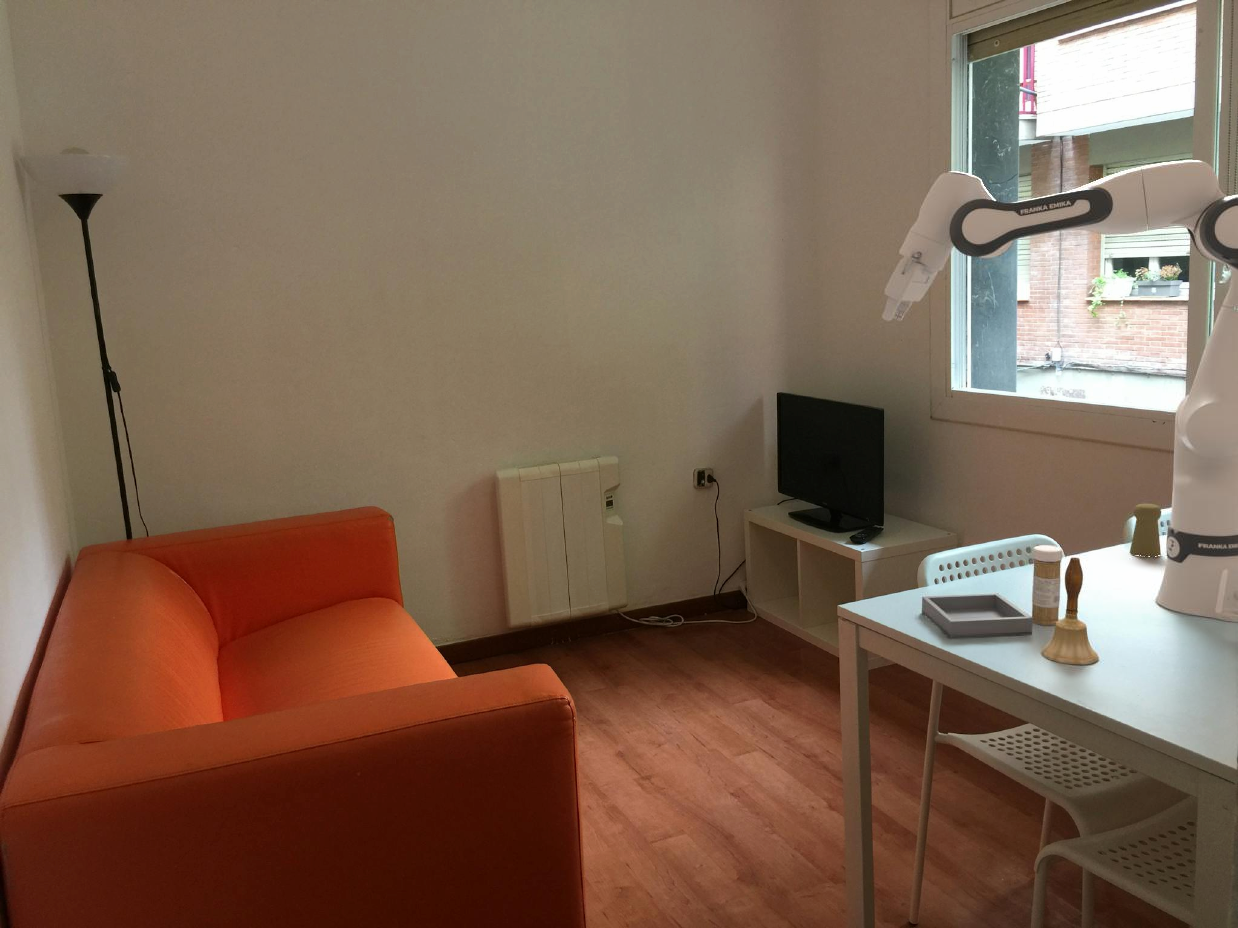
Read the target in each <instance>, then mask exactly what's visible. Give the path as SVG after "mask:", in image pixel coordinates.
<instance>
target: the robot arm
mask: <svg viewBox="0 0 1238 928" xmlns="http://www.w3.org/2000/svg"><path fill="white" fill-rule="evenodd" d="M918 213H919V214H918V217H917V220H916V221H915V222H914V223H913V225H912V226H911V227H910V229H909V231H908V233H907V235H906V237H905V240H904V241H903V242H902V243H903V244H902V246H901V247H900V249H899V251H898V253H899V254H900V255H902V256H903V258H901V259H900V260H899V262H898V264H897V265H896V267H895V269H894V271H893V273H892V275H891V276H890V278H889V281H888V282H887V284H886V287H885V289H884V292H883V293H884V295H885V296H887V297H888V298H887V301H886V303H885V308H884V311H883V312H882V315H881V318H882V319H883V320H885V321H886V322H890V321H892V320H893V319H894V320H896V321H899V322H900V321H902V320H903V318H904V317H905V314H906V313H907V312H908V311H909V309H910V307H912V304H913V302H920V301H921V300H922V299H923V298H924V296H925V295H926V293H927V292H928V290H929V288H930V286H931V285H932V283H933V281H934V280H935V278H936V276H937V275H938V272H939V271H940V272H942V270H943V269H944V268H945V265H946V263H947V260H948V258H949V257H950V255H951V253H952V251H953V248H955V249H956V250H957V251H958V252H960V253H961V254H963V255H964V256H968V257H972V258H983V259H992V258H995V257H998V256H1001V255H1003V254H1005V253H1006V252H1007V251H1008V250H1009V249H1010V248H1011V247H1012V246H1013V244H1014V241H1016V240H1018V239H1021V238H1022V239H1023V238H1028V237H1034V236H1039V235H1045V234H1049V233H1054V232H1060V231H1073V230H1074V231H1075V230H1077V231H1086V232H1091V233H1095V234H1100V235H1109V236H1110V235H1112V236H1113V235H1115V236H1116V235H1128V234H1136V233H1143V232H1148V231H1153V230H1159V229H1163V228H1170V227H1184V228H1186V229H1187V232H1188V234H1189V235H1190V238H1191V241H1192V242H1193V245H1194V246H1195V248H1196V250H1197V251H1198V252H1199V253H1200V254H1201V256H1203V257H1204V258H1205V259H1207V260H1209V261H1211V262H1213V263H1217V264H1220V265H1221V264H1222V265H1227V267H1228V268H1229V271H1230V285H1229V287H1228V291H1227V293H1226V296H1225V297H1224V299H1223V302H1222V305H1221V307H1220V310H1219V313H1218V314H1217V317H1216V320H1215V322H1214V325H1213V327H1212V329H1211V332H1210V334H1209V337H1208V340H1207V342H1206V344H1205V347H1204V349H1203V353H1202V356H1201V359H1200V363H1199V365H1198V368H1197V371H1196V374H1195V377H1194V380H1193V383H1192V386H1191V388H1190V391H1189V394H1187V395H1186V396H1185V397H1184V398H1183V399H1182V400H1181V402H1180V403H1179V404H1178V406H1177V409H1176V412H1175V421H1174V442H1173V443H1174V444H1173V447H1174V448H1173V470H1172V471H1173V472H1172V474H1173V476H1172V496H1171V498H1172V499H1171V512H1170V513H1171V514H1170V525H1168V526H1167V530H1166V531H1167V533H1166V547H1165V548H1166V550H1165V551H1166V557H1167V558H1166V564H1165V567H1164V573H1163V577H1162V581H1161V585H1160V587H1159V590H1158V593H1157V596H1156V598H1155V601H1156V603H1157V604H1159V605H1160V606H1162V607H1164V608H1167V609H1168V610H1172V611H1174V612H1175V611H1176V612H1178V613H1183V614H1188V615H1193V616H1201V617H1208V618H1214V619H1218V620H1222V621H1227V622H1238V194H1234V195H1229V196H1228V195H1226V194H1224V193H1223V192H1222V191H1221V188H1220V185H1219V179H1218V175H1217V174H1216V172H1215V170H1214V169H1213V167H1212V165H1210V164H1209V163H1208V162H1205V161H1204V160H1182V161H1181V160H1179V161H1170V162H1161V163H1156V164H1150V165H1144V166H1140V167H1136V168H1131V169H1127V170H1124V171H1120V172H1118V173H1114V174H1111V175H1108V176H1106V177H1103V178H1100V179H1098V180H1096V181H1093V182H1090V183H1088V184H1085V185H1083V186H1081V187H1078V188H1075V189H1071V190H1069V191H1066V192H1065V191H1064V192H1061V193H1057V194H1056V193H1055V194H1051V195H1046V196H1041V197H1040V196H1039V197H1036V198H1030V199H1026V200H1025V199H1024V200H1021V201H1013V202H1006V201H1005V202H1004V201H997V200H996V199H995V198H994V197H993V196H992V195H991V194H990V193H989V191H988V190H987V188H986V187H985V186H984V183H983V181H982V179H981V178H980V177H978V176H976V175H973V174H970V173H966V172H962V171H961V172H960V171H956V170H955V171H946V172H943V173H942V174H940V175H939V176H938V178H937V179H936V180H935V181H934V183H933V184H932V186H931V188H930V190H928V193H927V195H926V197H925V198H924V200H923V203H921V207H920V208H919V212H918Z"/></svg>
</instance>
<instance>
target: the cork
mask: <svg viewBox="0 0 1238 928" xmlns="http://www.w3.org/2000/svg"><path fill="white" fill-rule="evenodd" d="M1133 515H1134V518H1135V519H1136V520H1135V523H1134V524H1135V525H1134V529H1133V535H1132V539H1131V544H1130V549H1129V554H1130V553H1131V554H1134V555H1139V556H1140V555H1141V556H1145V557H1144V558H1146V557H1148V556H1150V557H1155V556H1158V555H1161V556H1162V554H1161V553H1162V552H1161V542H1160V541H1161V540H1160V530H1159V520H1160V519H1161V516H1162V510H1161V507H1160V506H1159V505H1157V504H1155V503H1154V504H1153V503H1139V504H1137V505H1135V507H1134V509H1133ZM1131 554H1130V555H1131ZM1134 555H1133V556H1134ZM1155 558H1156V557H1155Z"/></svg>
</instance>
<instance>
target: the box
mask: <svg viewBox="0 0 1238 928" xmlns="http://www.w3.org/2000/svg"><path fill="white" fill-rule="evenodd" d="M921 613H922V614H923V615H924V616H925V617H926V618H927V619H928V618H929V619H930V620H929V619H928V620H929V621H931V622H932V623H933V624H934V625H935V626H936V627H937V629H939V630H940V631H941V632H942V633H943V634H945V635H946V636H947V638H948V639H950V640H952V639H953V640H954V639H974V638H993V637H995V638H996V637H998V638H999V637H1016V636H1019V637H1020V636H1033V627H1034V626H1033V623H1034V622H1033V618H1032V615H1031V616H1030V615H1029V614H1028V613H1026V612H1025V611H1024V610H1022V609H1021V608H1020V607H1018V606H1017V605H1015V604H1014V603H1012V602H1011V601H1010V600H1009V599H1007V598H1005V597H1004V596H1002V595H1001V594H999V593H997V592H996V593H977V594H976V593H975V594H955V595H953V594H951V595H937V596H936V595H934V596H933V595H931V596H922V597H921Z"/></svg>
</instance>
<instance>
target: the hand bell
mask: <svg viewBox="0 0 1238 928" xmlns="http://www.w3.org/2000/svg"><path fill="white" fill-rule="evenodd" d="M1083 581H1084V573H1083V569H1082V565H1081V561H1080V558H1079V557H1070V560H1069V562H1068V565H1067V567H1066V569H1065V573H1064V586H1065V591H1066V596H1067V597H1066V609H1065V617H1064V618H1062V619H1059V620H1058V621H1057V622H1056V625H1054V632H1053V635H1052V637H1051V639H1050V641H1049V642H1048V644H1046V645H1045V646H1044V647H1043V648H1042V649H1041V655H1042V656H1043V657H1044V658H1046V659H1048V660H1051V661H1053V662H1057V663H1060V664H1066V665H1078V666H1079V665H1080V666H1081V665H1083V666H1084V665H1090V664H1091V665H1092V664H1094V663H1096V662H1098V661H1099V659H1100V656H1099V654H1098V653H1097V652H1096V651H1095V650H1094V648H1093V647H1092V646H1091V644H1090V640H1089V635H1088V629H1087V627H1088V626H1087V624H1086V623H1085V622H1083V621H1081V620H1079V618H1078V613H1079V612H1078V611H1079V610H1078V608H1079V607H1078V605H1079V601H1078V600H1079V595H1080V593H1081V592H1082V591H1081V589H1082V587H1083Z"/></svg>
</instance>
